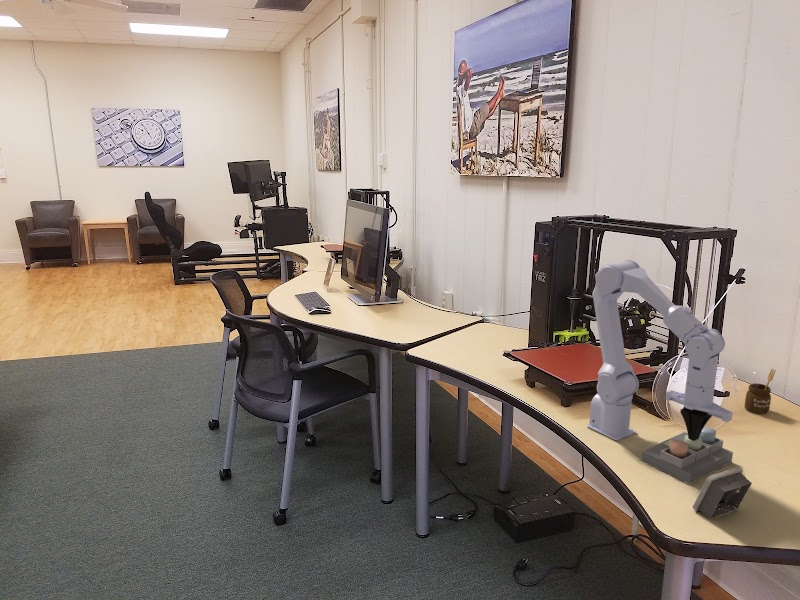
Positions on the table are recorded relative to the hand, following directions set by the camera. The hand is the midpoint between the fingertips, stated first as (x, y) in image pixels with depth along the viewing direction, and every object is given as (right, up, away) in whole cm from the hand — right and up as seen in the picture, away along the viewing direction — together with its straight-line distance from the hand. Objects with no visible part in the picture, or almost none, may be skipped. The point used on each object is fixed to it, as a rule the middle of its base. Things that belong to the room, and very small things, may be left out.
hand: (693, 438), depth 134 cm
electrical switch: (-3, -11, -16) cm, 20 cm away
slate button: (+5, -1, +3) cm, 6 cm away
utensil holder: (+32, +1, +28) cm, 42 cm away
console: (-1, -6, +2) cm, 6 cm away
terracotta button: (-5, -3, -2) cm, 6 cm away
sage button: (0, -2, +1) cm, 2 cm away
